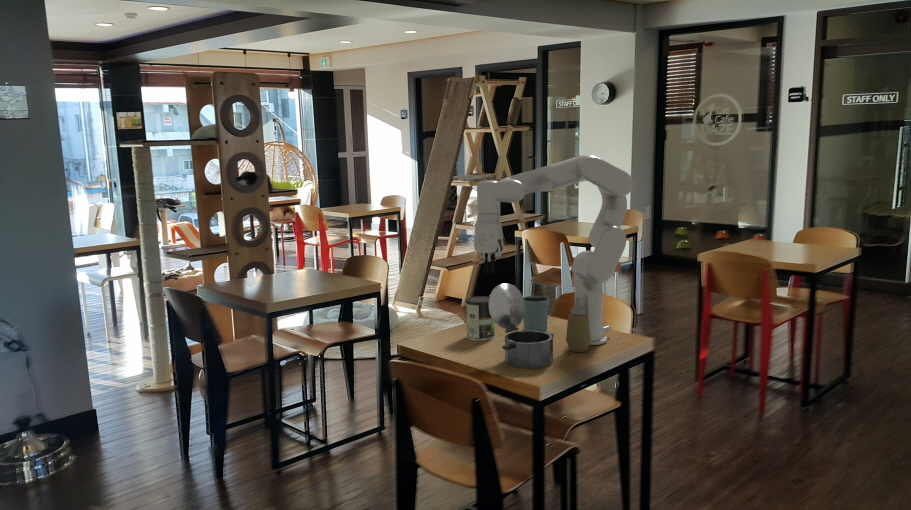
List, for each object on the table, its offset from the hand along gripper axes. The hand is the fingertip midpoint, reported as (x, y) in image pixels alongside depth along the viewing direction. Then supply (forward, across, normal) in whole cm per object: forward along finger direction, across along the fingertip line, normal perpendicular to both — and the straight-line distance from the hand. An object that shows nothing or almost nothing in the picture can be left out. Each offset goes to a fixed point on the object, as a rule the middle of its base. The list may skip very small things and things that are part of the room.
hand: (489, 272), depth 236 cm
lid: (+10, +9, 0) cm, 14 cm away
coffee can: (+27, -14, +7) cm, 31 cm away
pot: (+26, +18, 0) cm, 32 cm away
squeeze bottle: (+26, +21, +20) cm, 40 cm away
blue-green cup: (+27, -7, +28) cm, 40 cm away
